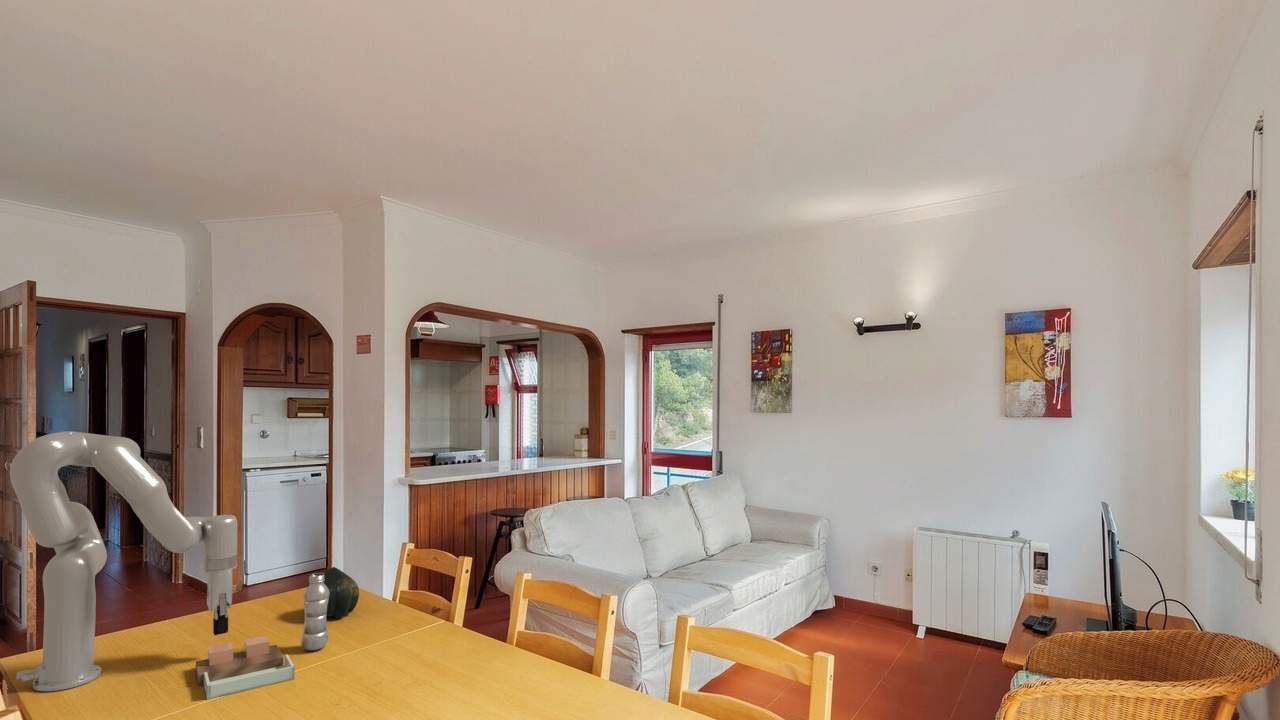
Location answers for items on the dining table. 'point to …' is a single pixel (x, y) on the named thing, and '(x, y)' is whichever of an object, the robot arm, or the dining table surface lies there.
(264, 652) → the tile
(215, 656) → the tile
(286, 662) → the tray
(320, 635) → the plastic bottle
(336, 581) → the squash
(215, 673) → the board
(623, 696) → the dining table surface
